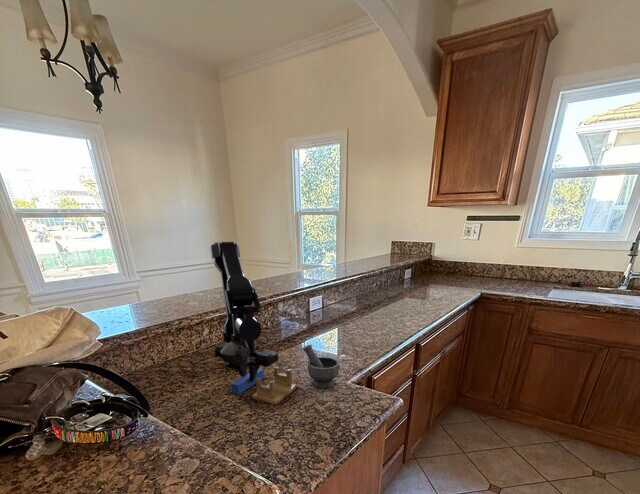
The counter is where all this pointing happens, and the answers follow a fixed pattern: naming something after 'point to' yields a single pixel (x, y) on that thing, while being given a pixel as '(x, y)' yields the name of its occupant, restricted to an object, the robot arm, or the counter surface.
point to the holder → (275, 387)
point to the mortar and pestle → (321, 368)
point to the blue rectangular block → (245, 382)
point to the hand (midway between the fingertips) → (248, 380)
